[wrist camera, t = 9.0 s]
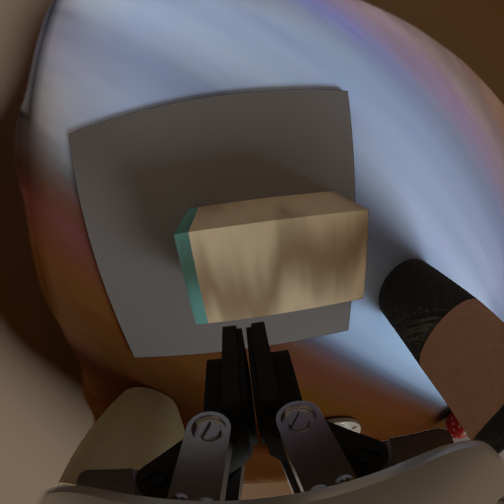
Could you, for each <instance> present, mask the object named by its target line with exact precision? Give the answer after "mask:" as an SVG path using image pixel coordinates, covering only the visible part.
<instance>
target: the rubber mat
mask: <svg viewBox="0 0 504 504" xmlns="http://www.w3.org/2000/svg"><path fill="white" fill-rule="evenodd" d="M69 140H70V148H71V155H72V162H73V168H74V174H75V179H76V184H77V189H78V194H79V199H80V203H81V208H82V212H83V216H84V220H85V224H86V228H87V232H88V235H89V239H90V242H91V246H92V249H93V252H94V256H95V259H96V262H97V265H98V268H99V271H100V274H101V277H102V280H103V283H104V286H105V288H106V291H107V294H108V296H109V299H110V302H111V304H112V307H113V309H114V312H115V314H116V317H117V319H118V322H119V324H120V326H121V329H122V331H123V333H124V335H125V338H126V340H127V342H128V344H129V346H130V348H131V351H132V353H133V355H134V357H157V356H175V355H189V354H201V353H212V352H221V351H222V327H225V326H233V325H236V327H237V329H238V328H242V332H243V338H244V344H245V349H246V348H248V343H247V333H246V327H251V323H256V322H263V321H264V323H265V328H266V333H267V338H268V343H269V345H274V344H280V343H286V342H292V341H298V340H303V339H308V338H314V337H319V336H324V335H328V334H333V333H338V332H342V331H347V330H348V328H349V319H350V309H351V301H347V302H342V303H337V304H332V305H327V306H321V307H316V308H310V309H305V310H299V311H293V312H287V313H281V314H274V315H268V316H261V317H254V318H247V319H239V320H232V321H224V322H215V323H206V324H197V325H196V323H195V319H194V315H193V312H192V308H191V304H190V300H189V297H188V293H187V289H186V285H185V281H184V277H183V272H182V268H181V264H180V260H179V255H178V251H177V246H176V242H175V237H174V233H175V232H176V230H177V228H178V226H179V224H180V223H181V221H182V219H183V217H184V216H185V214H186V212H187V210H188V209H190V208H196V207H203V206H209V205H216V204H223V203H230V202H238V201H245V200H253V199H261V198H270V197H279V196H288V195H297V194H307V193H318V192H329V191H333V192H335V193H337V194H339V195H341V196H343V197H345V198H347V199H349V200H351V201H352V202H354V203H355V176H354V155H353V140H352V127H351V117H350V107H349V99H348V91H341V90H276V91H260V92H247V93H237V94H228V95H220V96H213V97H206V98H200V99H194V100H188V101H183V102H178V103H173V104H168V105H164V106H159V107H155V108H151V109H146V110H143V111H139V112H135V113H131V114H128V115H124V116H121V117H117V118H114V119H111V120H108V121H104V122H101V123H98V124H95V125H92V126H90V127H87V128H84V129H81V130H79V131H76V132H73V133H71V134H69Z"/></svg>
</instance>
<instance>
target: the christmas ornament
mask: <svg viewBox="0 0 504 504" xmlns="http://www.w3.org/2000/svg"><path fill="white" fill-rule="evenodd" d="M445 428H446V430H447V431H448V432H449V433H450V434H451V436H452V438H463V437H465V436H468V435H467V433H466V432H465V430H464V429H463V427H462V426H461V424H460V423H459V421H458V420H457V418H456V417H455V415H454V414H453V412H452V411H451V412H450V413H449V415H448V417H447V419H446V423H445Z"/></svg>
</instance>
